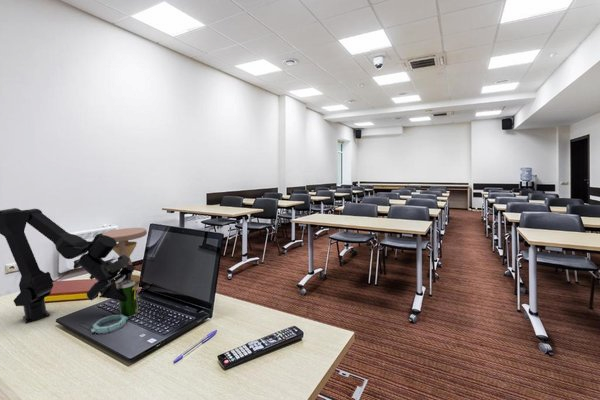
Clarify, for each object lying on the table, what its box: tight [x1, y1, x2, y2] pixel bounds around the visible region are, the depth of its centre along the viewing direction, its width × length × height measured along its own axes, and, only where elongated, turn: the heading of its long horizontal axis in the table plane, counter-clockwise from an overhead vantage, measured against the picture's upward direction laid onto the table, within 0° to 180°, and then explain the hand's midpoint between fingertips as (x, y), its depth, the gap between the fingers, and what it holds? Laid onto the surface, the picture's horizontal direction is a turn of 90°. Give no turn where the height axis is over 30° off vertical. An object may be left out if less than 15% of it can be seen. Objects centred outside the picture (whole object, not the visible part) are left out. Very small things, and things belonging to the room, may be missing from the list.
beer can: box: [117, 279, 139, 318], centre depth 104 cm, size 5×5×12 cm
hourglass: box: [102, 227, 148, 293], centre depth 126 cm, size 18×18×25 cm
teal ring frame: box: [90, 313, 129, 334], centre depth 97 cm, size 9×10×2 cm
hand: (131, 297), depth 104 cm, fingers closed on beer can, 5 cm apart
